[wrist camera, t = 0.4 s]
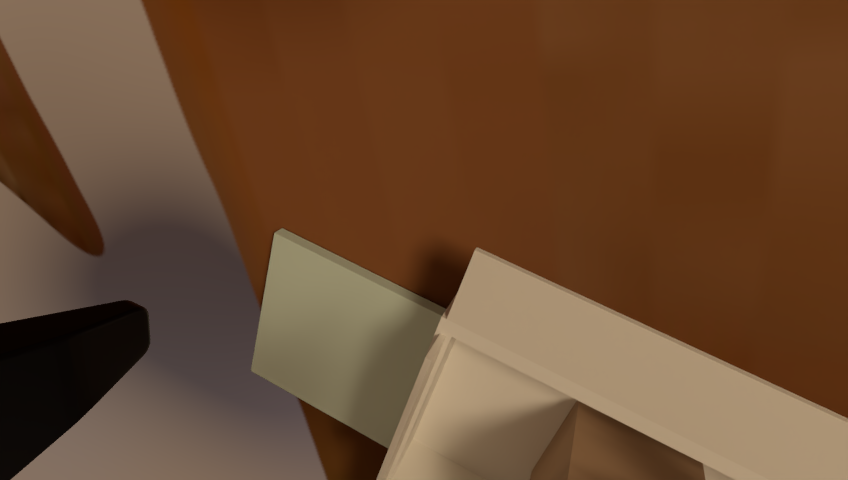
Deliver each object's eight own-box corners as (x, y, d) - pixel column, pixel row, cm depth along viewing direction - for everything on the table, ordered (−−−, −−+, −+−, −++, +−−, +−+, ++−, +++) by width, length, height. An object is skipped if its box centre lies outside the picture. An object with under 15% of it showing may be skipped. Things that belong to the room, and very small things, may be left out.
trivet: (455, 313, 22) (451, 320, 21) (400, 444, 26) (396, 453, 26) (282, 228, 24) (274, 232, 23) (257, 364, 28) (250, 370, 27)
